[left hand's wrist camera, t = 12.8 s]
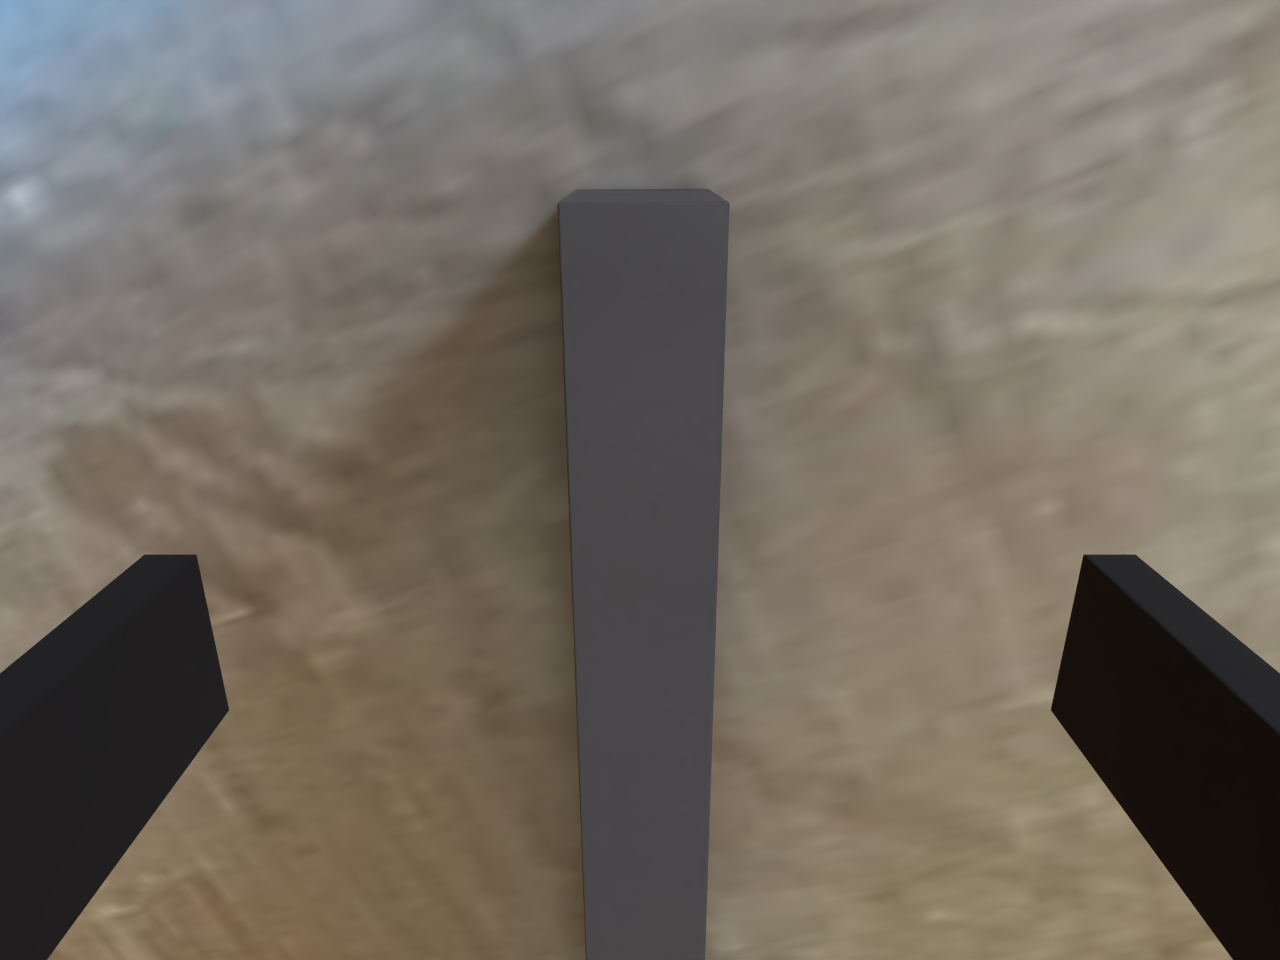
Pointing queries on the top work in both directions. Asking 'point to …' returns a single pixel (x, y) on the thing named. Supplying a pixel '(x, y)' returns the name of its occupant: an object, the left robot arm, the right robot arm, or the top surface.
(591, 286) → the bar
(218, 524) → the top surface
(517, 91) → the top surface
